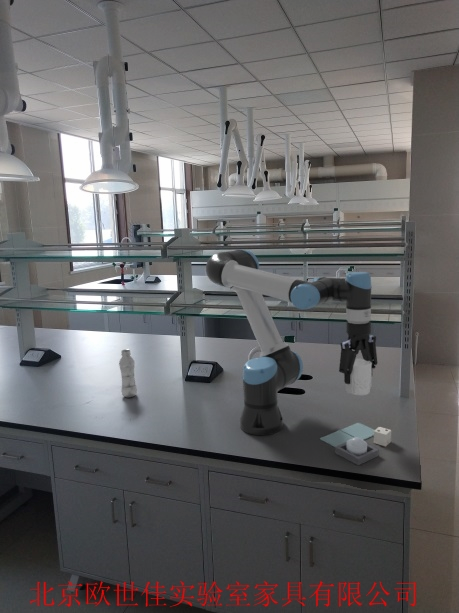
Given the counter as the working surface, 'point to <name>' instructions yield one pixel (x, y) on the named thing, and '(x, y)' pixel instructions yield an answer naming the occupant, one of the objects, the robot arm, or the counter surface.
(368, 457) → the frame
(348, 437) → the tile
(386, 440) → the die
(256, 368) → the robot arm
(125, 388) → the plastic bottle
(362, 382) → the white cup
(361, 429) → the tile
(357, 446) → the dome
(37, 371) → the counter surface
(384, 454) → the counter surface
